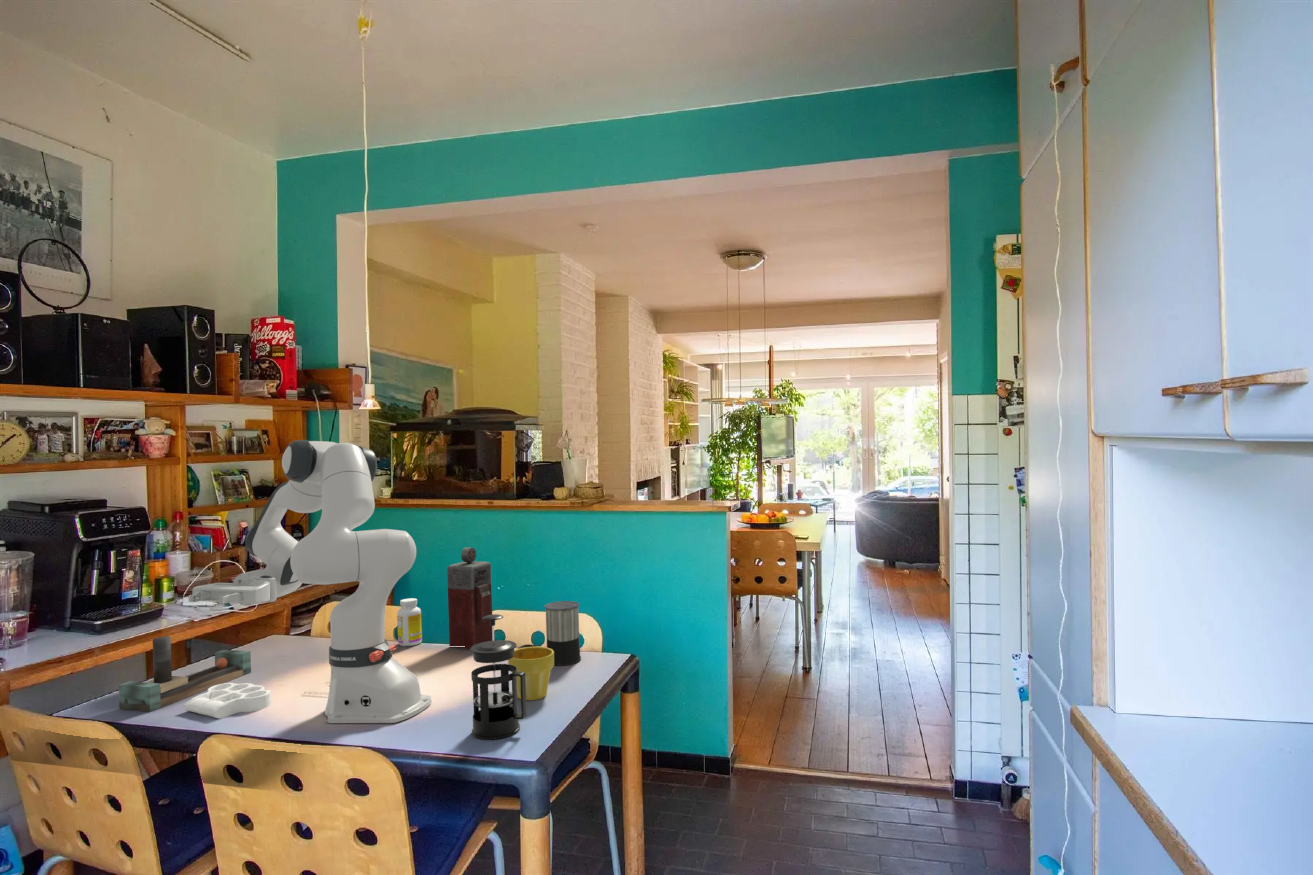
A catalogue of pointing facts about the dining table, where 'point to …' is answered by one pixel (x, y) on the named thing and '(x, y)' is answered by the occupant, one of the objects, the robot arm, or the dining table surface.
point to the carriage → (164, 666)
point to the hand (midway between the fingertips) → (205, 599)
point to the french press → (495, 706)
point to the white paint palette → (230, 700)
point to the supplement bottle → (409, 623)
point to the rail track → (149, 693)
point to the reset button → (221, 663)
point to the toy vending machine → (469, 601)
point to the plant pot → (533, 670)
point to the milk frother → (562, 632)
